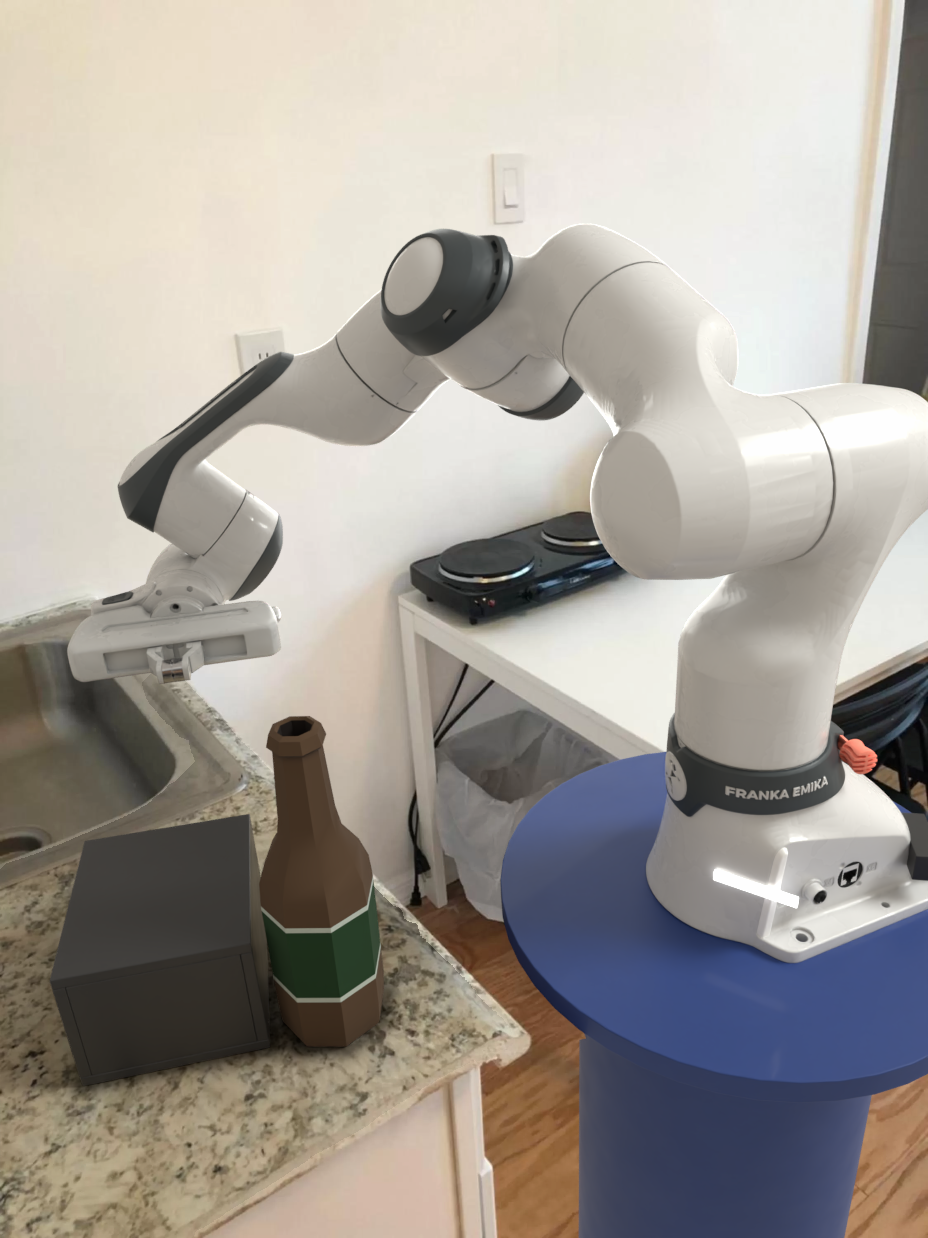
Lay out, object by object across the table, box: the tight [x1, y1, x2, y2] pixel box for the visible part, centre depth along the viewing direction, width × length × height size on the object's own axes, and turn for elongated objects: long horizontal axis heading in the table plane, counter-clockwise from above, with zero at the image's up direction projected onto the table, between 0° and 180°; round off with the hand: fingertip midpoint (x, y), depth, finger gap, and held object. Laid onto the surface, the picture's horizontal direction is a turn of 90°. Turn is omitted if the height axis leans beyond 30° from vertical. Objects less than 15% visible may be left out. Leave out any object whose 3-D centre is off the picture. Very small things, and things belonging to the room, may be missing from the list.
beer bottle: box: [259, 715, 385, 1048], centre depth 63 cm, size 8×8×24 cm
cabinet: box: [49, 813, 271, 1087], centre depth 69 cm, size 15×13×10 cm
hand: (173, 675), depth 87 cm, fingers closed
